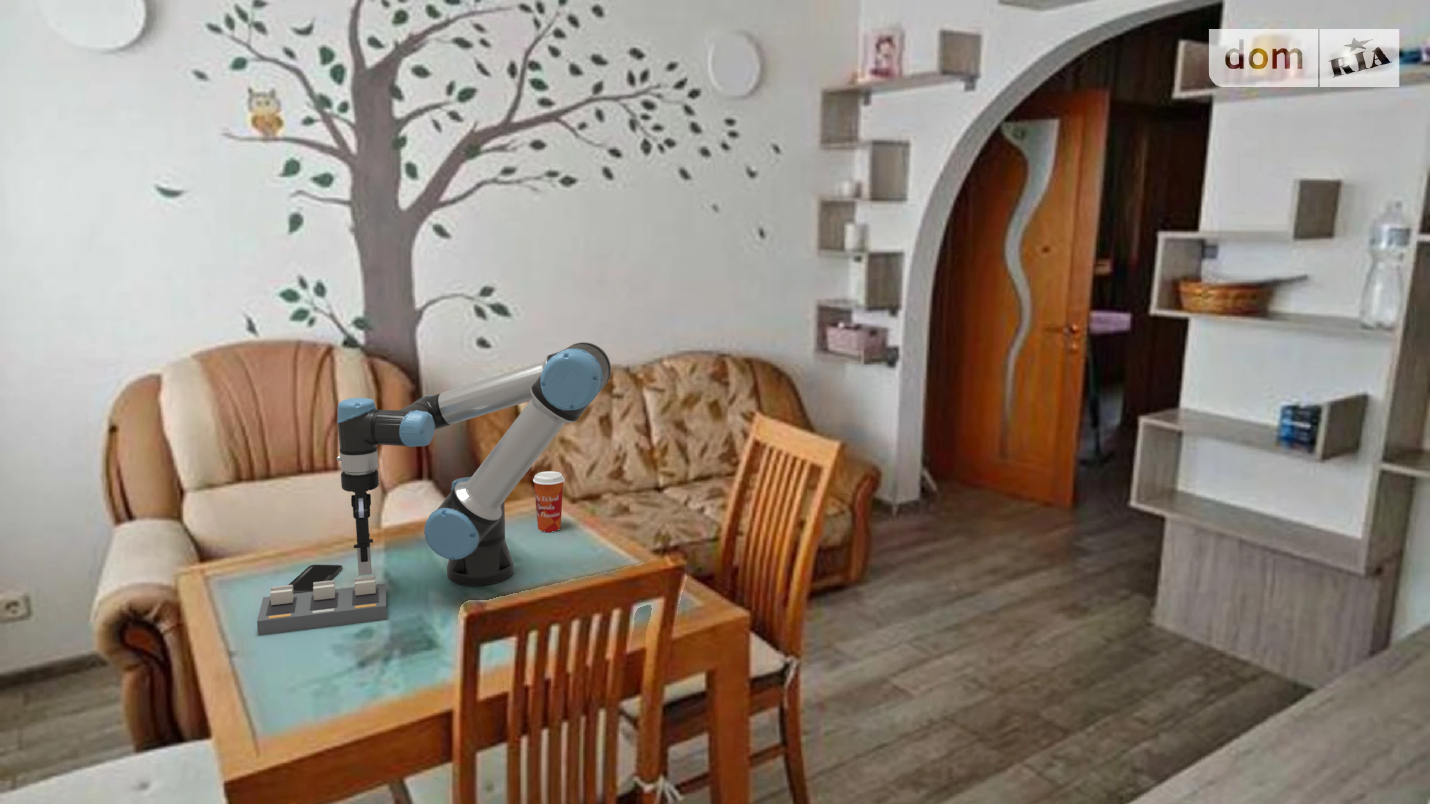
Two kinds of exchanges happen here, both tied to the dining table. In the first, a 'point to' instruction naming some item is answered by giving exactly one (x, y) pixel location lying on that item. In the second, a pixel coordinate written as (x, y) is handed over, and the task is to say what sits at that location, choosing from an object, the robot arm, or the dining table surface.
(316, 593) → the switch tab
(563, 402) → the robot arm
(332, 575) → the phone
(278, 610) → the switch board
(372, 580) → the switch tab
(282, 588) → the switch tab
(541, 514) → the coffee cup
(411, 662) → the dining table surface
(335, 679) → the dining table surface
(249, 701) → the dining table surface
